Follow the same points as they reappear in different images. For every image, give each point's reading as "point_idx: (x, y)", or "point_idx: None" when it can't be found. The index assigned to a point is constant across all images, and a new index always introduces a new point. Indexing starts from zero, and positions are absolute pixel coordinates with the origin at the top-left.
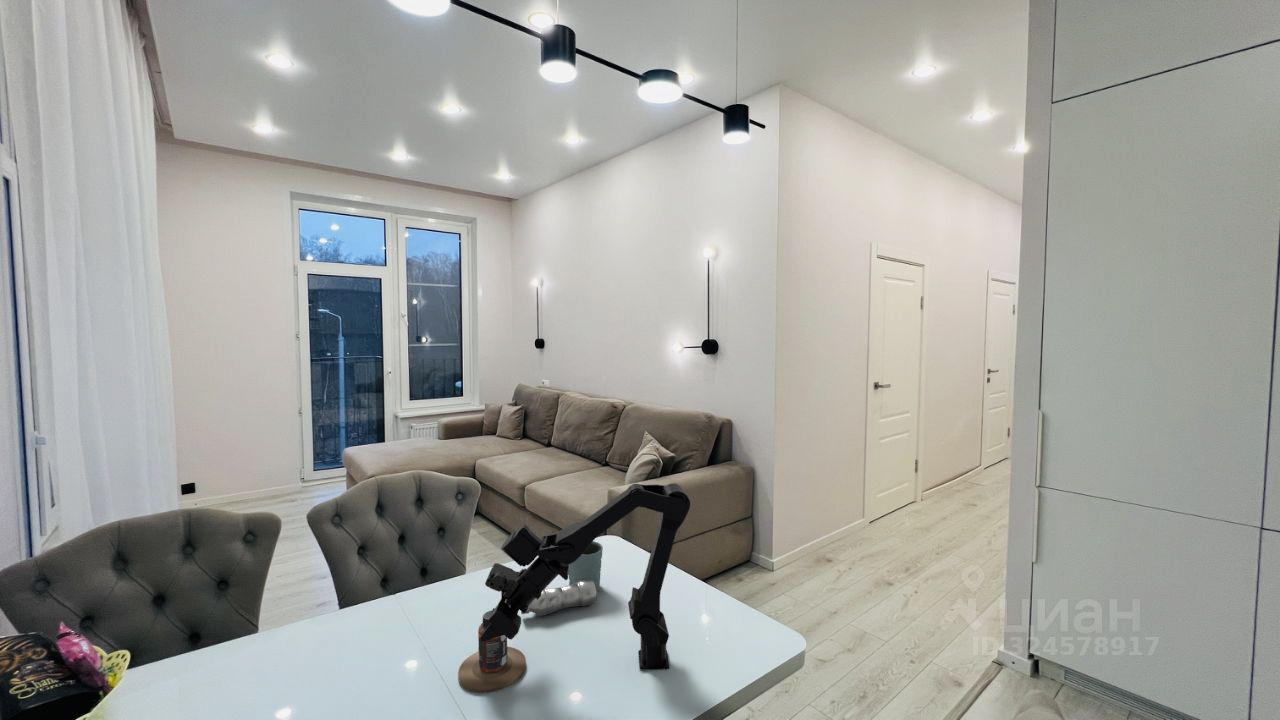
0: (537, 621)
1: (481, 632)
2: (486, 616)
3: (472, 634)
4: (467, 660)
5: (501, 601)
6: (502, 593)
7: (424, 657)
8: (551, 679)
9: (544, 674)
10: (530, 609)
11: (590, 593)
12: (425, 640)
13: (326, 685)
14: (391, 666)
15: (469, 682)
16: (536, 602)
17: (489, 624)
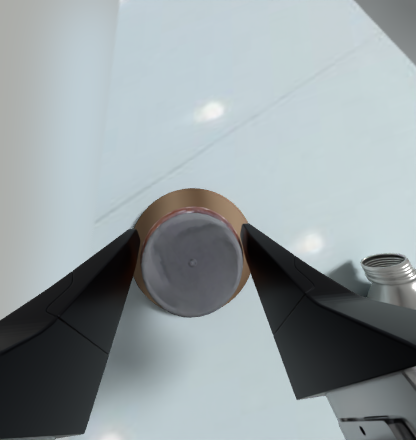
0: None
1: (152, 226)
2: (172, 236)
3: (294, 180)
4: (209, 196)
5: (301, 297)
6: (366, 336)
7: (228, 124)
8: (163, 376)
9: (179, 356)
10: (376, 284)
11: None
12: (272, 111)
13: (166, 21)
14: (206, 85)
15: (146, 219)
16: (402, 306)
17: (60, 288)
